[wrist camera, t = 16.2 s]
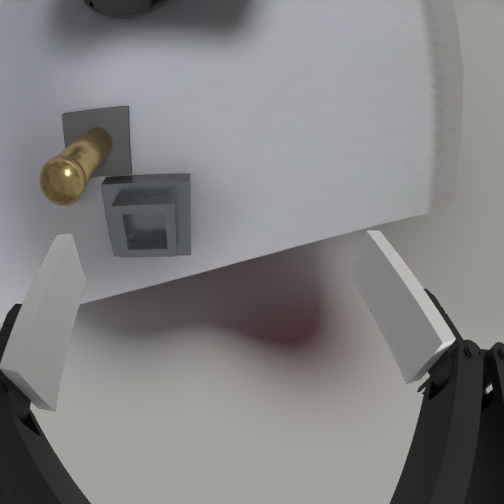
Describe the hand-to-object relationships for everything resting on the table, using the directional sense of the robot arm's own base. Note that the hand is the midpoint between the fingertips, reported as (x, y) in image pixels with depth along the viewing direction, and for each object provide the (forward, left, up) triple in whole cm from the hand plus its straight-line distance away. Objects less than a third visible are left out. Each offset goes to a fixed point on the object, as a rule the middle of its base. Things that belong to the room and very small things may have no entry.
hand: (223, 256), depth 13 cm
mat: (+5, -17, -35) cm, 39 cm away
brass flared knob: (+5, -17, -34) cm, 38 cm away
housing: (+18, -9, -35) cm, 40 cm away
